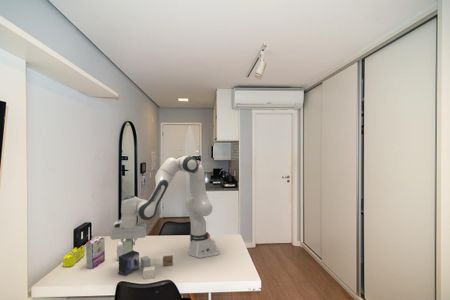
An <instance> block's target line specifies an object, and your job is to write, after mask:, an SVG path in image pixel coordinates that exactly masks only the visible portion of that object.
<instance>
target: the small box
mask: <svg viewBox="0 0 450 300" xmlns="http://www.w3.org/2000/svg"><path fill="white" fill-rule="evenodd" d="M139 269H140V252H139V251H136V250H134V249H133V250H132V251H130V252H128V253H126V254H123V255H121V256H119V261H118V271H117V272H118V275H121V276H122V277H127V276H128V275H130V274H132V273H134V272H135V271H137V270H139Z"/></svg>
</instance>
